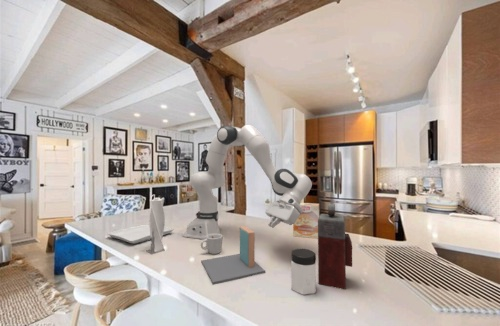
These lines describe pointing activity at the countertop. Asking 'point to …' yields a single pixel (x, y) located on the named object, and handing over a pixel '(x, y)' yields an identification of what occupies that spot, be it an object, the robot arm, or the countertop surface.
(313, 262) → the jar
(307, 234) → the coffeecake box
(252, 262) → the peach rectangular block
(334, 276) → the dark red grey-topped box
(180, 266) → the countertop surface
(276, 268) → the countertop surface
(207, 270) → the mat
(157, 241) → the skyscraper
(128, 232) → the square plate
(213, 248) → the cup
